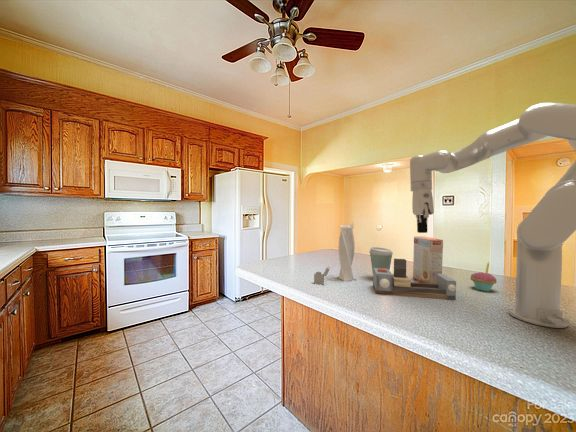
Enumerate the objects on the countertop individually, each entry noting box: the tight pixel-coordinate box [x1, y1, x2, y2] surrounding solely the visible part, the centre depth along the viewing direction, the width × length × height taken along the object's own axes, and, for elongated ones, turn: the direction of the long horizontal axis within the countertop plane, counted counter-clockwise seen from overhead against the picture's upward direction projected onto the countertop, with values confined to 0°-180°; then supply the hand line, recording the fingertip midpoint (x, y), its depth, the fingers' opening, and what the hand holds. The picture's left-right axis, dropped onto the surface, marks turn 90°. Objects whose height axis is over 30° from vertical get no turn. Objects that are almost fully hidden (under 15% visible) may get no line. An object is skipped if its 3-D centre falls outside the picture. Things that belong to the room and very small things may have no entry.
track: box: [372, 282, 457, 301], centre depth 96 cm, size 10×28×3 cm, turn 78°
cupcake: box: [470, 261, 497, 292], centre depth 100 cm, size 9×8×12 cm
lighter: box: [313, 266, 331, 286], centre depth 107 cm, size 7×2×8 cm, turn 67°
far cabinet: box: [372, 268, 394, 296], centre depth 98 cm, size 11×6×8 cm, turn 168°
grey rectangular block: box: [436, 273, 457, 301], centre depth 93 cm, size 11×3×7 cm, turn 168°
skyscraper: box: [336, 222, 358, 282], centre depth 114 cm, size 8×8×28 cm
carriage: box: [392, 258, 412, 287], centre depth 97 cm, size 8×6×10 cm
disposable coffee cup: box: [368, 246, 393, 272], centre depth 115 cm, size 11×11×15 cm
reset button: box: [378, 268, 387, 272], centre depth 99 cm, size 3×3×4 cm
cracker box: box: [412, 236, 444, 284], centre depth 109 cm, size 14×6×21 cm, turn 179°
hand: (422, 232), depth 95 cm, fingers closed
